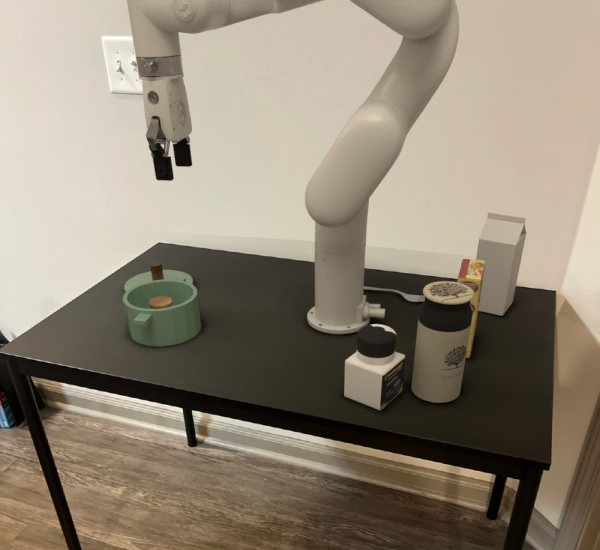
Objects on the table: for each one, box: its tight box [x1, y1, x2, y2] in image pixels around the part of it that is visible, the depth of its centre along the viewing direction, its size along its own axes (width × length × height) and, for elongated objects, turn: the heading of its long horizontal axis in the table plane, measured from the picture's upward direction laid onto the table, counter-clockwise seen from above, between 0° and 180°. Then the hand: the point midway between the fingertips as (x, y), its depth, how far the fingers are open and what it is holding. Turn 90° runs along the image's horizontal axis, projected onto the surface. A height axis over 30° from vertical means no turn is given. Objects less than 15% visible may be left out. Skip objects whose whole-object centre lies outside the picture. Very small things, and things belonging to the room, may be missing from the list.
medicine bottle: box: [343, 323, 406, 411], centre depth 97 cm, size 7×7×12 cm
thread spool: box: [149, 296, 173, 309], centre depth 118 cm, size 4×4×6 cm
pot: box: [122, 277, 202, 347], centre depth 118 cm, size 14×19×8 cm
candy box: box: [456, 258, 485, 359], centre depth 108 cm, size 9×4×15 cm, turn 162°
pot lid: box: [123, 261, 194, 293], centre depth 135 cm, size 15×15×6 cm
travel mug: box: [410, 280, 474, 404], centre depth 95 cm, size 8×8×18 cm
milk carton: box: [475, 212, 527, 317], centre depth 121 cm, size 7×7×19 cm
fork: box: [363, 285, 425, 303], centre depth 131 cm, size 3×24×2 cm, turn 63°
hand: (174, 172), depth 112 cm, fingers open, 9 cm apart
